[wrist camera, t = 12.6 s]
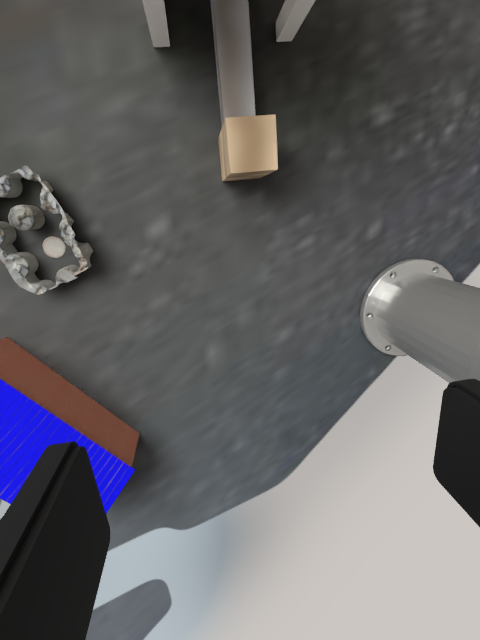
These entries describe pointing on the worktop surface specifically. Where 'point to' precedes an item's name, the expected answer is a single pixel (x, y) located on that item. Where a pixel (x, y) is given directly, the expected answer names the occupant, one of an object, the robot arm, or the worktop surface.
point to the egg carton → (33, 218)
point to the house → (56, 425)
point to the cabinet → (286, 23)
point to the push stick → (240, 98)
